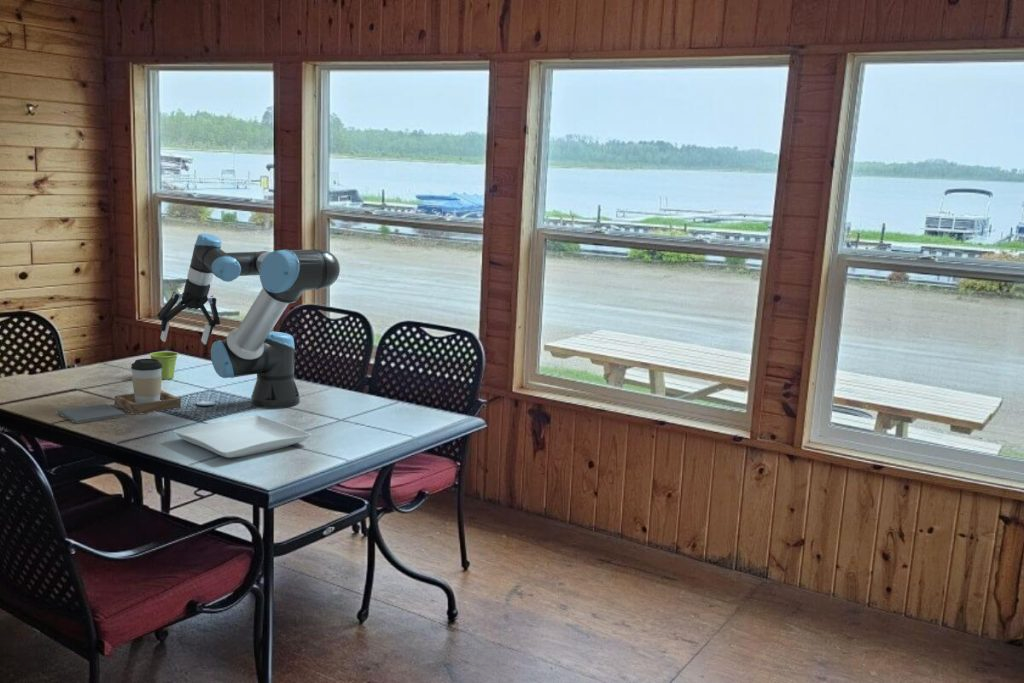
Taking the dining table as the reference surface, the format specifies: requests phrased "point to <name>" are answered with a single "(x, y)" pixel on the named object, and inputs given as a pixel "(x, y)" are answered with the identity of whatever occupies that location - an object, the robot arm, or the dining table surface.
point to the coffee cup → (146, 380)
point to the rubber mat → (91, 413)
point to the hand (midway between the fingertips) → (183, 341)
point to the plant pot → (166, 363)
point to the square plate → (243, 436)
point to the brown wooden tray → (131, 406)
